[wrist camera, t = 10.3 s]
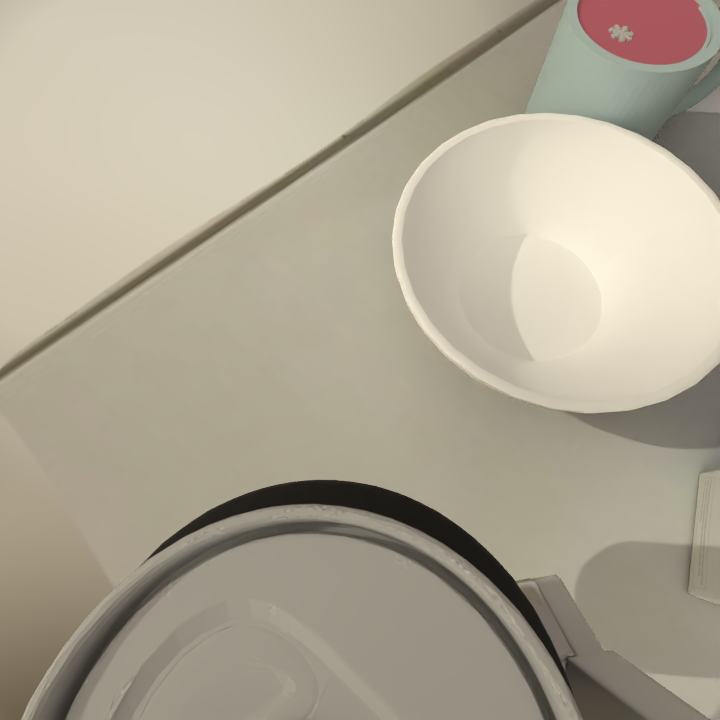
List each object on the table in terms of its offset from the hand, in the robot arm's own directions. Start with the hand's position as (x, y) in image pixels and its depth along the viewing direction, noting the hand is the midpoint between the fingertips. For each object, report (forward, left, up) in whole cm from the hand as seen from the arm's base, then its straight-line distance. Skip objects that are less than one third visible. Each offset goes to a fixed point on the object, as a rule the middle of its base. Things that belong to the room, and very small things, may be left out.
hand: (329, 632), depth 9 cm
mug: (+37, -5, -18) cm, 41 cm away
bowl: (+21, -4, -18) cm, 28 cm away
